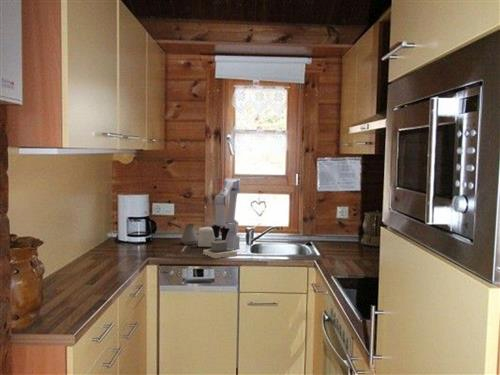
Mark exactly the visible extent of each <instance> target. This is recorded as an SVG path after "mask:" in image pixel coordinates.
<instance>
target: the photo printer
mask: <svg viewBox="0 0 500 375" xmlns="http://www.w3.org/2000/svg"><path fill="white" fill-rule="evenodd" d="M197 233H198V235H197V237H198V242H197V246H198V247H199V248H200V247H203V248H204V247H206V248H211V243H212V242H215V236H214V232H213V229H212V227H210V226H205V227H200V228H199V229H198V232H197Z"/></svg>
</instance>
